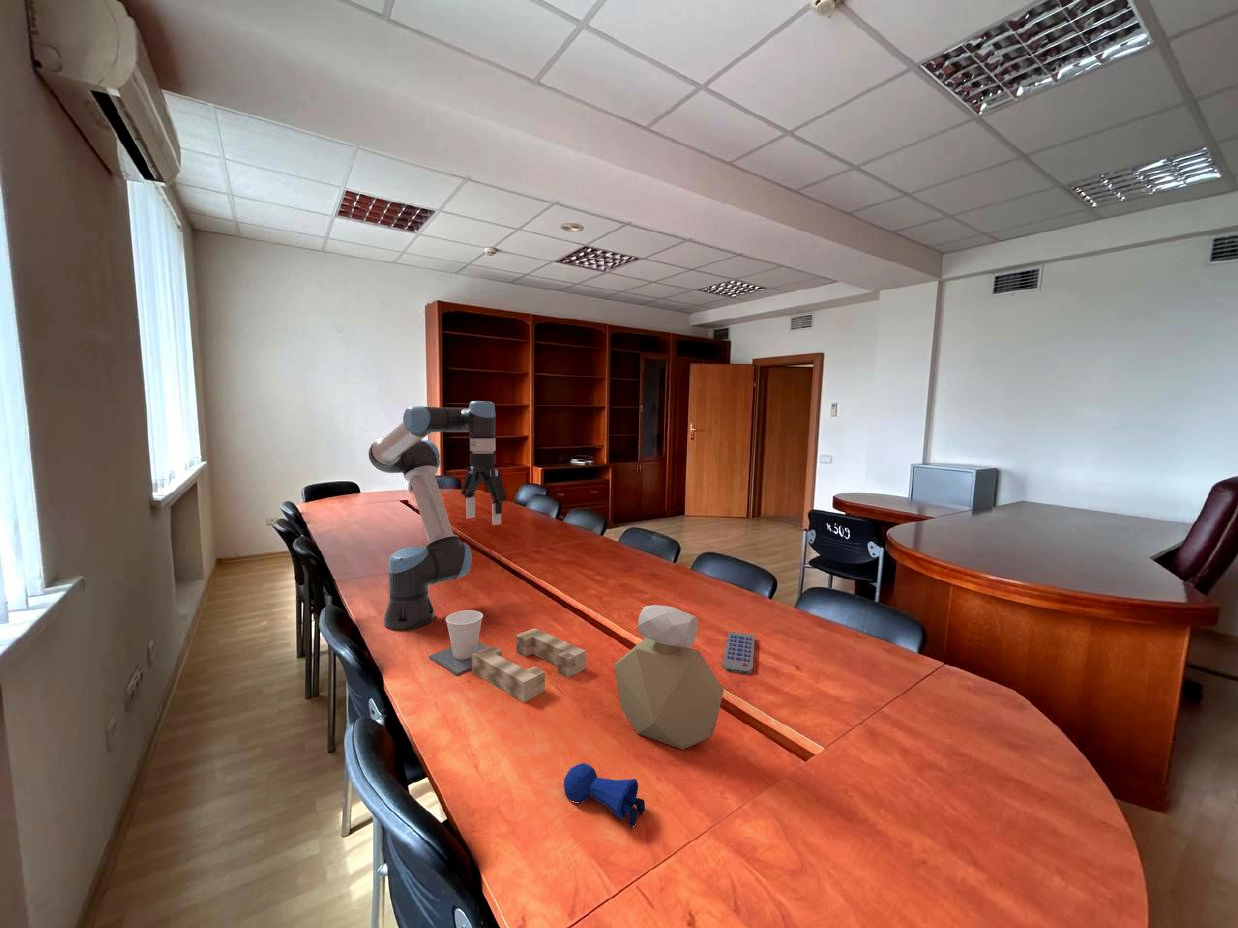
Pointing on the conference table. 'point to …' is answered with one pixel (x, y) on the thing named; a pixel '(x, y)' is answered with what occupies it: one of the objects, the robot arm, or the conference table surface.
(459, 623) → the cup
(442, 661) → the coaster
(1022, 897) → the conference table surface
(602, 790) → the toy
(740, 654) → the remote control
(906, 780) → the conference table surface
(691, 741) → the perfume bottle
